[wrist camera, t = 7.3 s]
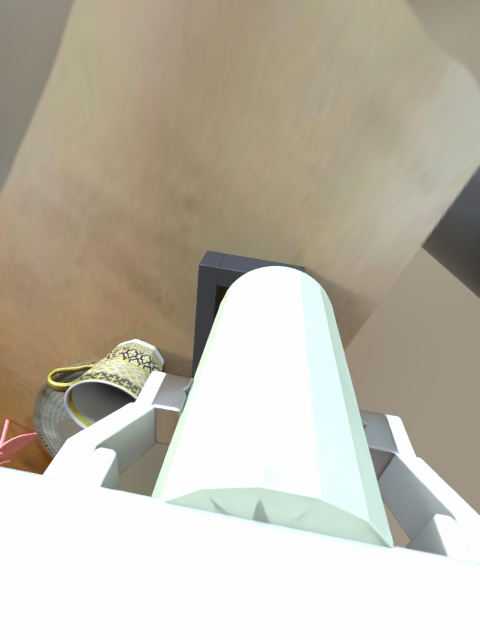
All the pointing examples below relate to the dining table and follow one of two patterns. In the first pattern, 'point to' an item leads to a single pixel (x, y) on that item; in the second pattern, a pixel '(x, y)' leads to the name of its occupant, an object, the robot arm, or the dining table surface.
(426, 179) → the dining table surface
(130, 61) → the dining table surface
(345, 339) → the dining table surface
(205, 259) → the holder
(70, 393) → the ceramic cup
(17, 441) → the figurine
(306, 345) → the bottle
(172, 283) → the dining table surface
